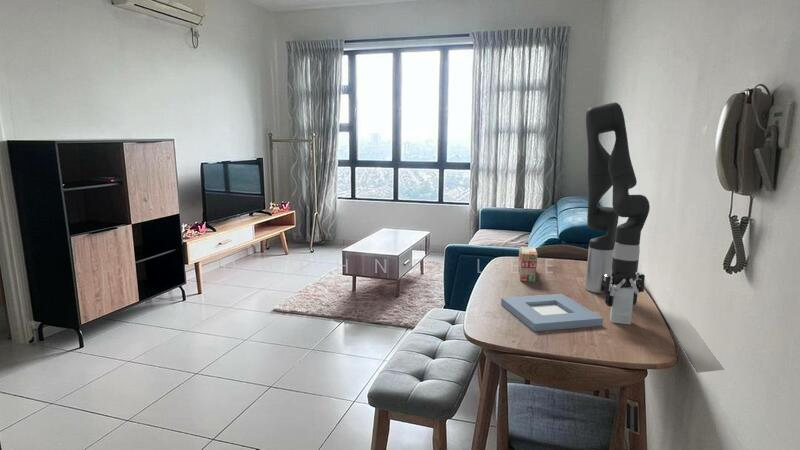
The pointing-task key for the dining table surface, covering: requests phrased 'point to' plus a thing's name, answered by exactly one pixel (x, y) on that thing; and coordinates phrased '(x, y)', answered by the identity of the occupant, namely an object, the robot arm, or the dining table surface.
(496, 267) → the dining table surface
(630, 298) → the skincare box
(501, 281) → the dining table surface
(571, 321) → the base board
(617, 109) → the robot arm
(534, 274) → the stack of blocks
